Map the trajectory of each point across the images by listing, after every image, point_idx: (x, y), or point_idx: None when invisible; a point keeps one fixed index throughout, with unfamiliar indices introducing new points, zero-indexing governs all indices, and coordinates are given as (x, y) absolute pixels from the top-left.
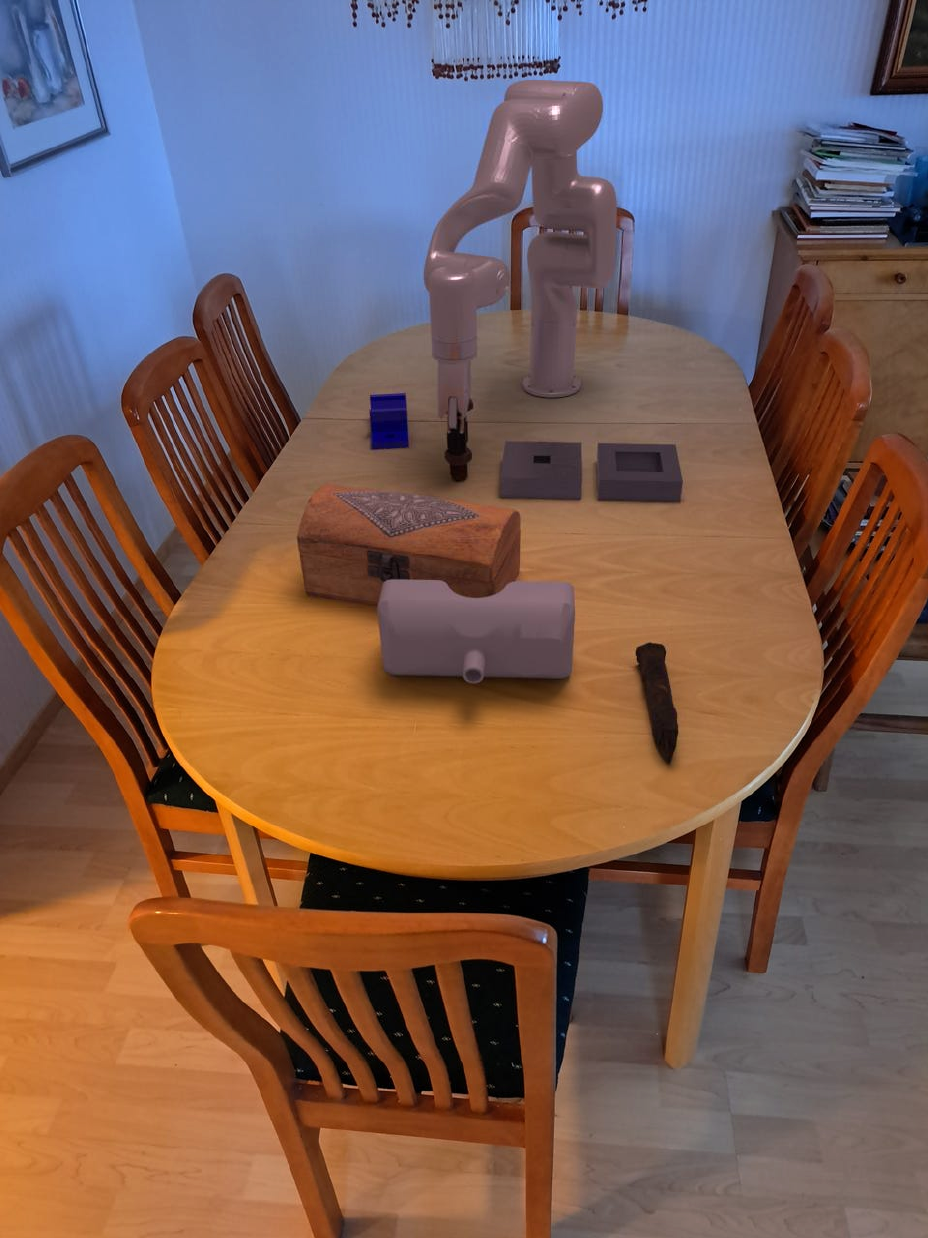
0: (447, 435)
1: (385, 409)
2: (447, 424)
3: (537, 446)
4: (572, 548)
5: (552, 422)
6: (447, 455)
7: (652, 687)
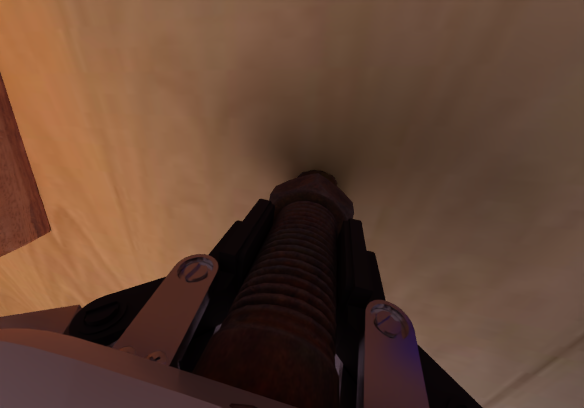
0: (227, 242)
1: None
2: (148, 303)
3: (337, 361)
4: None
5: (520, 384)
6: (287, 188)
7: None
